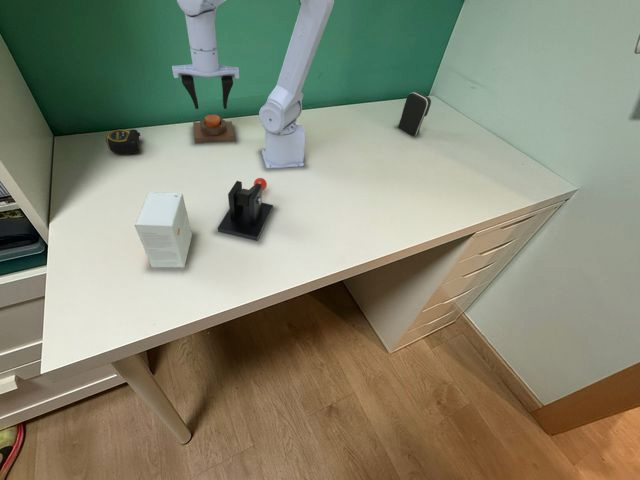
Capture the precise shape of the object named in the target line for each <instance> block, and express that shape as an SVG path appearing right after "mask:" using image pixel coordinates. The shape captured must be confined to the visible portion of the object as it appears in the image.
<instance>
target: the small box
mask: <svg viewBox="0 0 640 480" xmlns="http://www.w3.org/2000/svg"><path fill="white" fill-rule="evenodd" d="M134 229H135V230H136V232H137V234H138V235H137V236H138V238H139V241H140V242H141V245H142V246H143V249H144V252H145V254H146V256H147V259H148V261H149V263H150V266H151V268H185V267H186V263H187V258H188V253H189V250H190V245H191V241H192V237H193V233H192V228H191V224H190V219H189V215H188V211H187V207H186V202H185V198H184V194H183V193H179V192H158V191H157V192H155V191H147V194H146V196H145V199H144V200H143V203H142V206H141V208H140V211H139V213H138V216H137V218H136V221H135V223H134Z"/></svg>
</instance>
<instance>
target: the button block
mask: <svg viewBox="0 0 640 480" xmlns="http://www.w3.org/2000/svg"><path fill="white" fill-rule="evenodd" d="M192 124H193V125H192V126H193V139H194V144H195V145H197V144H198V145H199V144H210V143H216V144H217V143H236V136H235V130H234V126H233V121H231V120H230V121H227V120H225V119H223V118H222V117H220V126H217V127H210V126H207V125H206V121H205V117H204V118H202V119H201V120H199V121H194V122H193V123H192Z"/></svg>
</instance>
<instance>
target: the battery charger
mask: <svg viewBox="0 0 640 480" xmlns="http://www.w3.org/2000/svg"><path fill="white" fill-rule="evenodd" d="M405 99H406V100H405V102H404V105H403V109H402V114H401V117H400V120H399V123H398V126H397V128H399V129H400V130H402V131H403V132H404V133H406V134H409V135H410V136H412V137H416V136H418V135H419V133H420V128H421V126H422V124H423V121H424V119H425V117H427V116H428V113H429V110H430V109H431V108H430V107H431V105H432V100H431V97H429V96H427V95H425V94H423V93H422V92H419V91H413V92H410V93H409V94H407V97H406V98H405Z"/></svg>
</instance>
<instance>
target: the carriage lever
mask: <svg viewBox="0 0 640 480" xmlns="http://www.w3.org/2000/svg"><path fill="white" fill-rule="evenodd" d="M257 185H258V186H262V192H263V191H265V190H266V189H267V186H268V183H267V180H266V179H265V178H263V177H257V178H255V180H254V181H253V185H252V186H251V187H250V188H249V189H248V188H242V190H241V191H240V192H238V199H237V204H238V205H242V206H246V207H248V206H249V198H250V196H251V195H252V193H253V191H254V189H255V188H256V186H257Z"/></svg>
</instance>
